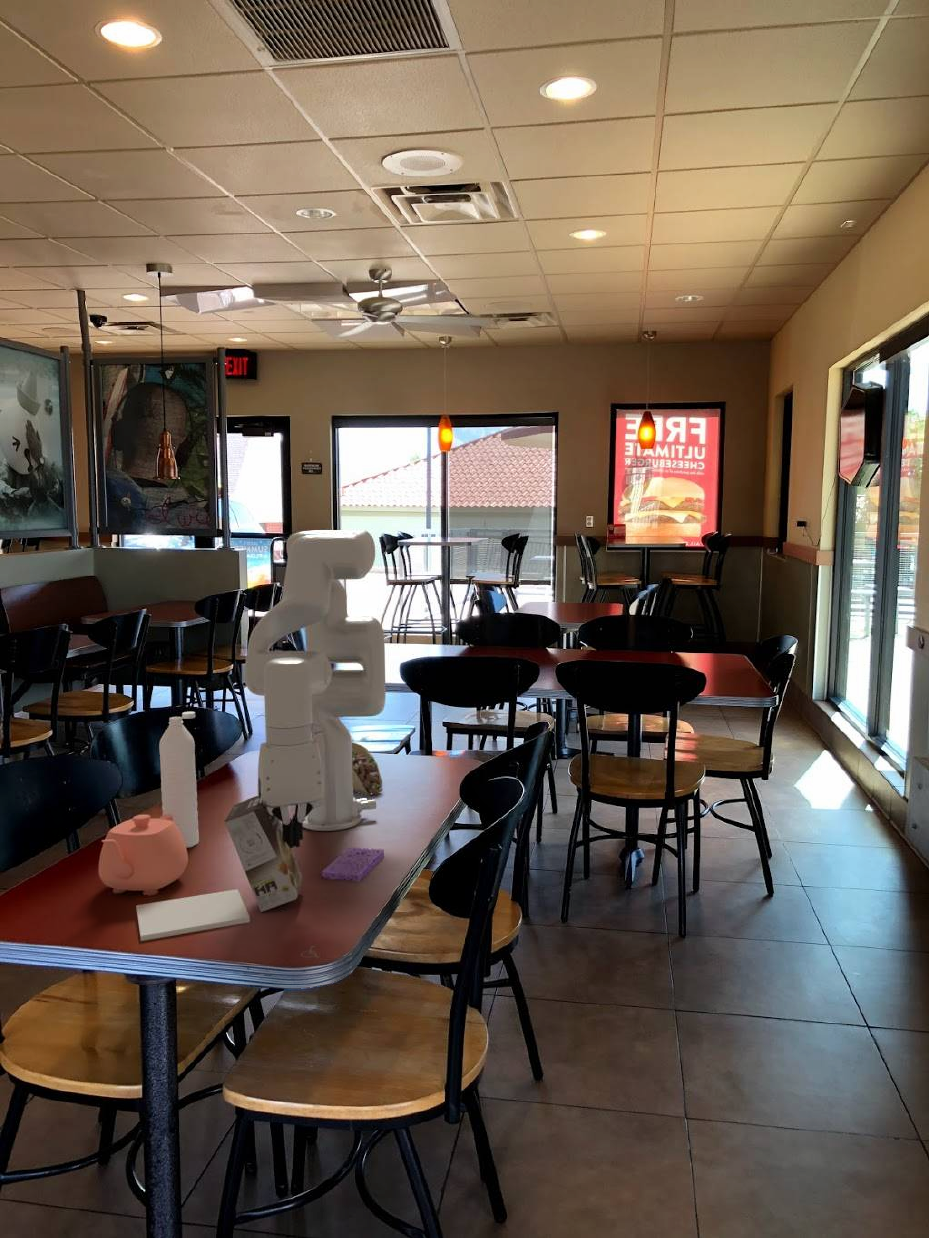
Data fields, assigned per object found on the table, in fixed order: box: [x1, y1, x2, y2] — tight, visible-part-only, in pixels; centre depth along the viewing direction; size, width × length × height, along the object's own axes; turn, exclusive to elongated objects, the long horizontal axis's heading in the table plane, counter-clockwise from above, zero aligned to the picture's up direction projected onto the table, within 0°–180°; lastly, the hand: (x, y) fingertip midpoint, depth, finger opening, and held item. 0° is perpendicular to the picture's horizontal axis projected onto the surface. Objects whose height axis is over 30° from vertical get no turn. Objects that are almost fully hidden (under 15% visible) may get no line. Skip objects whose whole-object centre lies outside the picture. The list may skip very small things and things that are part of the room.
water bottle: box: [158, 711, 200, 849], centre depth 178 cm, size 9×6×25 cm
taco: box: [352, 741, 384, 796], centre depth 217 cm, size 10×27×10 cm, turn 49°
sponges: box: [321, 846, 385, 882], centre depth 165 cm, size 7×13×2 cm, turn 165°
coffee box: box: [224, 795, 303, 913], centre depth 150 cm, size 9×6×16 cm
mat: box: [135, 888, 251, 942], centre depth 145 cm, size 16×12×1 cm
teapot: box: [98, 814, 189, 897], centre depth 157 cm, size 13×20×12 cm, turn 167°
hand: (293, 844), depth 151 cm, fingers closed
